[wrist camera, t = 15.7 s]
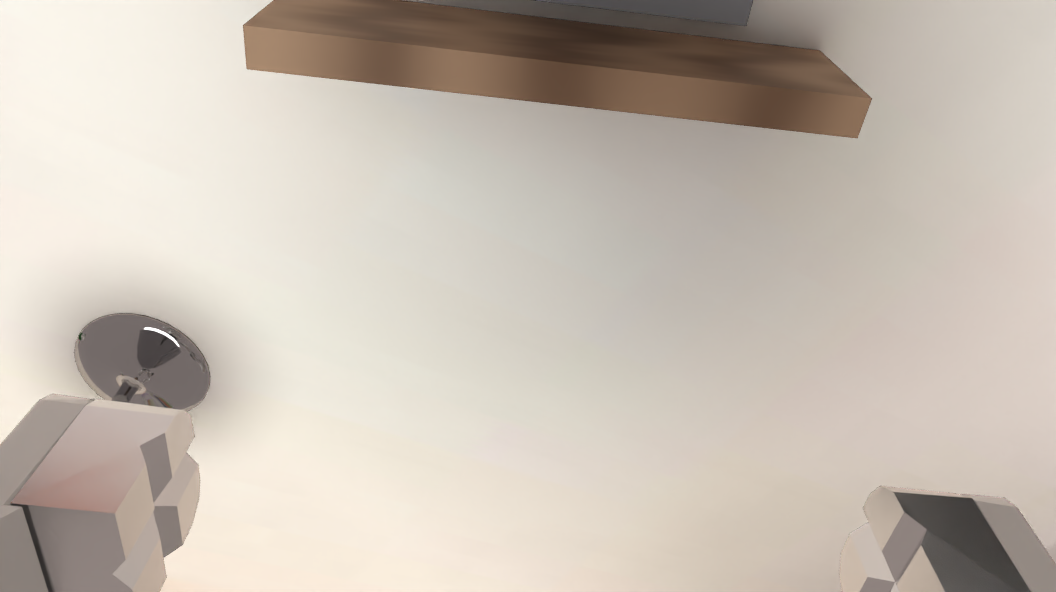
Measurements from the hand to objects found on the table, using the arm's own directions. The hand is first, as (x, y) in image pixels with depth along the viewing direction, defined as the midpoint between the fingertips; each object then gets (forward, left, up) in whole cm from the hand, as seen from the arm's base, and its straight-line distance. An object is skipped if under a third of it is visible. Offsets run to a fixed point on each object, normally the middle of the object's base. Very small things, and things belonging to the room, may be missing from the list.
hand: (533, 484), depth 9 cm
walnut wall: (-1, +2, -26) cm, 26 cm away
